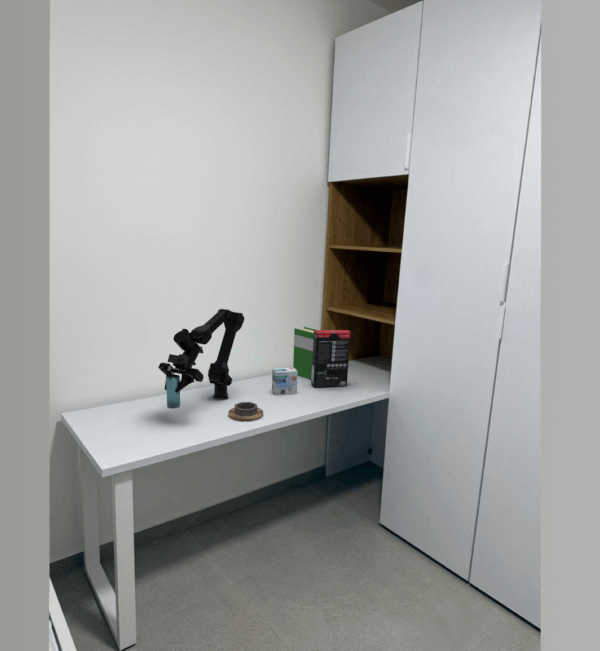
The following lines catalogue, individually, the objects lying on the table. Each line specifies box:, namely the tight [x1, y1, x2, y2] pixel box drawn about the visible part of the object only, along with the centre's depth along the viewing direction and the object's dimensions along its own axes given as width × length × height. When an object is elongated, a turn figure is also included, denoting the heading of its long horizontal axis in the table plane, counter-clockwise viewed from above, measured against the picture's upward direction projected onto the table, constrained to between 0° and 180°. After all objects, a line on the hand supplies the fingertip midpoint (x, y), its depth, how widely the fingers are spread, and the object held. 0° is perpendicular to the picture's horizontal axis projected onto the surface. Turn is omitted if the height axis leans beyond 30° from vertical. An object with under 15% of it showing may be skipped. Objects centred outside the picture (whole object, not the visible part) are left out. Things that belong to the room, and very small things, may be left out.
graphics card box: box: [310, 329, 352, 388], centre depth 240 cm, size 17×7×27 cm, turn 105°
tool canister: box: [165, 374, 181, 410], centre depth 193 cm, size 5×5×12 cm
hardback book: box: [292, 326, 317, 381], centre depth 254 cm, size 18×7×24 cm, turn 42°
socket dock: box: [227, 401, 264, 422], centre depth 202 cm, size 14×14×4 cm
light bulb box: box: [271, 366, 298, 396], centre depth 230 cm, size 11×7×11 cm, turn 108°
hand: (170, 391), depth 191 cm, fingers closed on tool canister, 5 cm apart
